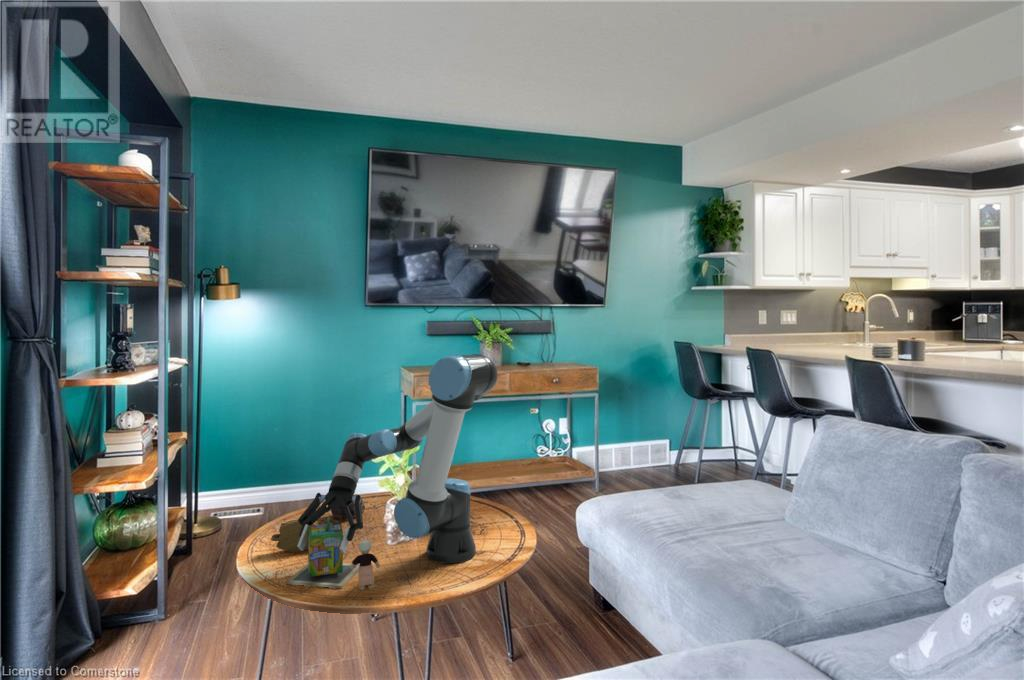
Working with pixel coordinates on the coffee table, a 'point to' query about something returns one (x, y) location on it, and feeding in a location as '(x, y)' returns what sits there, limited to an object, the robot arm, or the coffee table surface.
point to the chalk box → (325, 549)
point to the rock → (351, 507)
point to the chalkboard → (324, 577)
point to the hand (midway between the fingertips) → (321, 550)
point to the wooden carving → (289, 536)
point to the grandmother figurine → (365, 565)
